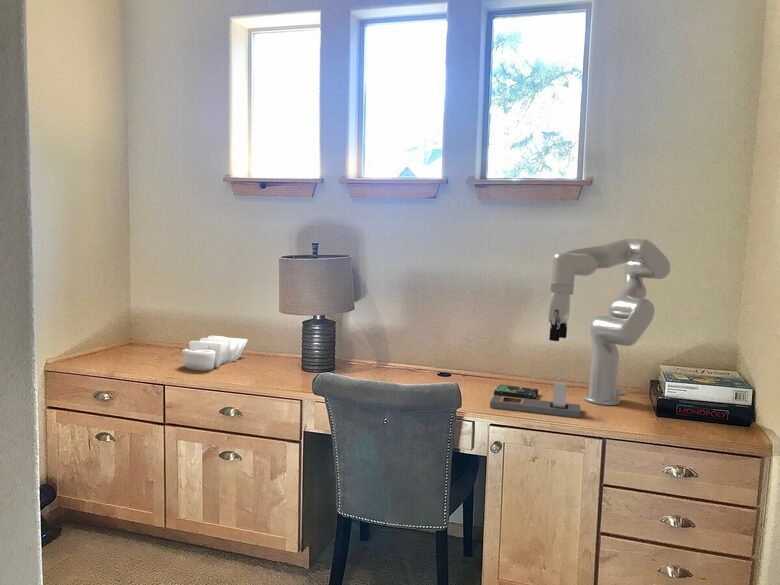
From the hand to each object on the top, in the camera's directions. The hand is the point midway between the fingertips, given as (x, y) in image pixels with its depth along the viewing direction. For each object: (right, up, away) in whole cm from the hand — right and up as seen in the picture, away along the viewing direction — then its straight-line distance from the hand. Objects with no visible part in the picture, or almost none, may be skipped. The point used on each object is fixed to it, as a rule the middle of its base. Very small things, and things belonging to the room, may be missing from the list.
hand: (557, 339), depth 211 cm
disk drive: (-10, -23, +21) cm, 33 cm away
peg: (0, -25, 0) cm, 25 cm away
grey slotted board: (-7, -25, +3) cm, 26 cm away
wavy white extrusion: (-134, -15, +56) cm, 146 cm away
